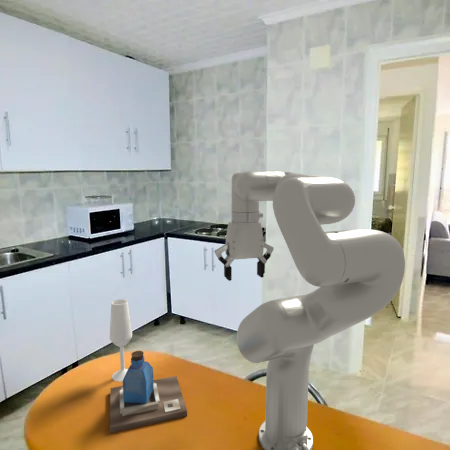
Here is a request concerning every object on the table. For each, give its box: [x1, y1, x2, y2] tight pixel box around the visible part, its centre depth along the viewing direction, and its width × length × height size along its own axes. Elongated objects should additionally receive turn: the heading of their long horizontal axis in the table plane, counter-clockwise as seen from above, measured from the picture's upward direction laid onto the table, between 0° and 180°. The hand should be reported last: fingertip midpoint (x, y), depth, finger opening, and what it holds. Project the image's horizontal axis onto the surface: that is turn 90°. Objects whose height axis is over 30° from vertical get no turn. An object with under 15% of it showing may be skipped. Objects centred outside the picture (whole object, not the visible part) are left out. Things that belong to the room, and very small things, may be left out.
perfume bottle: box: [122, 350, 154, 403], centre depth 89 cm, size 6×6×12 cm
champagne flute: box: [109, 298, 133, 383], centre depth 102 cm, size 7×7×24 cm
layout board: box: [109, 375, 188, 434], centre depth 90 cm, size 16×19×3 cm
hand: (244, 277), depth 94 cm, fingers open, 9 cm apart
